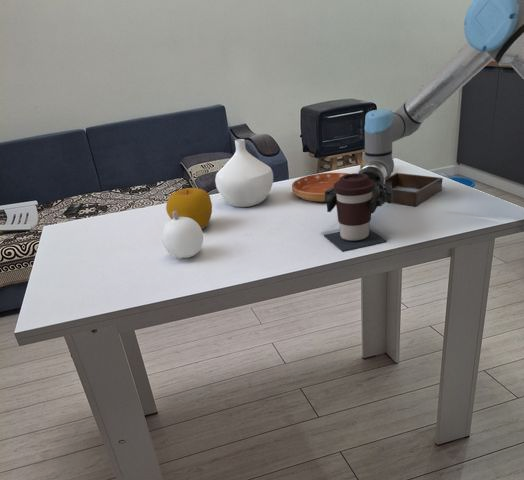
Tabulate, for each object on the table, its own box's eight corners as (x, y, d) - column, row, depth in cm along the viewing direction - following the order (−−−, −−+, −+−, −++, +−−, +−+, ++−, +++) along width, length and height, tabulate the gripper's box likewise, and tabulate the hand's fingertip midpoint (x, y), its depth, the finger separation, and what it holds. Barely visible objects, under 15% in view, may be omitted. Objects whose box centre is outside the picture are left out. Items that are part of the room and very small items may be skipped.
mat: (365, 227, 144) (365, 225, 144) (386, 242, 134) (387, 240, 134) (324, 236, 142) (324, 234, 141) (342, 251, 132) (342, 250, 132)
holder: (441, 191, 162) (442, 177, 160) (415, 206, 153) (416, 192, 151) (395, 185, 172) (396, 172, 170) (369, 199, 163) (369, 186, 161)
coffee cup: (352, 246, 132) (351, 185, 124) (327, 236, 139) (325, 177, 131) (382, 235, 136) (383, 175, 128) (356, 225, 143) (356, 168, 135)
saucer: (340, 178, 184) (340, 167, 182) (378, 194, 166) (379, 182, 164) (280, 192, 178) (279, 181, 176) (313, 210, 159) (313, 198, 157)
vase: (231, 193, 183) (223, 134, 173) (282, 193, 177) (277, 132, 166) (209, 211, 169) (199, 148, 158) (264, 212, 163) (257, 146, 152)
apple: (212, 235, 151) (205, 194, 145) (167, 238, 152) (159, 198, 146) (218, 219, 162) (212, 181, 156) (176, 222, 163) (168, 185, 157)
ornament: (158, 259, 140) (148, 215, 133) (187, 246, 146) (178, 202, 139) (185, 267, 134) (176, 221, 127) (213, 252, 140) (206, 207, 133)
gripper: (412, 194, 144) (396, 224, 127) (330, 192, 152) (306, 220, 136) (413, 166, 140) (397, 192, 123) (330, 165, 148) (304, 190, 131)
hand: (349, 207), depth 129 cm, fingers closed on coffee cup, 10 cm apart
